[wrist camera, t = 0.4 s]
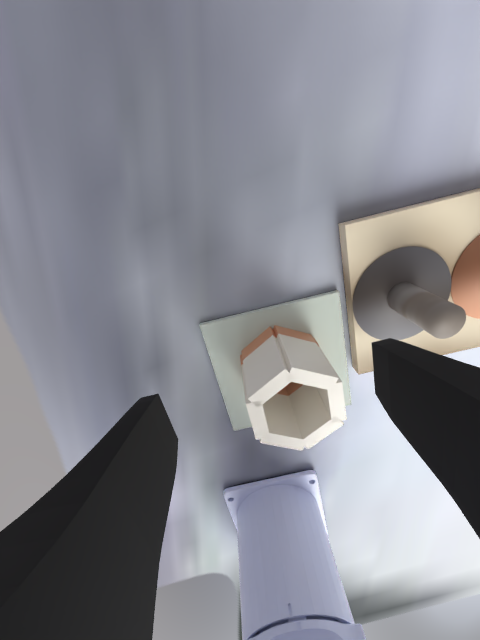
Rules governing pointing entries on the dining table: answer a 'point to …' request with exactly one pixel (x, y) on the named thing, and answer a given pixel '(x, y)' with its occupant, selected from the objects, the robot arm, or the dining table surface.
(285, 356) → the sleeve
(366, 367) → the pin board
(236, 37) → the dining table surface
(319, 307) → the mat
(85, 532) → the robot arm
